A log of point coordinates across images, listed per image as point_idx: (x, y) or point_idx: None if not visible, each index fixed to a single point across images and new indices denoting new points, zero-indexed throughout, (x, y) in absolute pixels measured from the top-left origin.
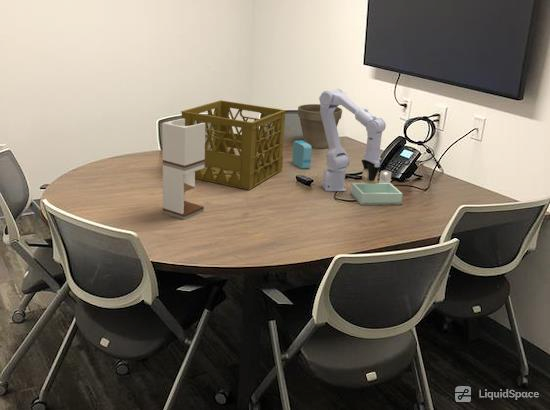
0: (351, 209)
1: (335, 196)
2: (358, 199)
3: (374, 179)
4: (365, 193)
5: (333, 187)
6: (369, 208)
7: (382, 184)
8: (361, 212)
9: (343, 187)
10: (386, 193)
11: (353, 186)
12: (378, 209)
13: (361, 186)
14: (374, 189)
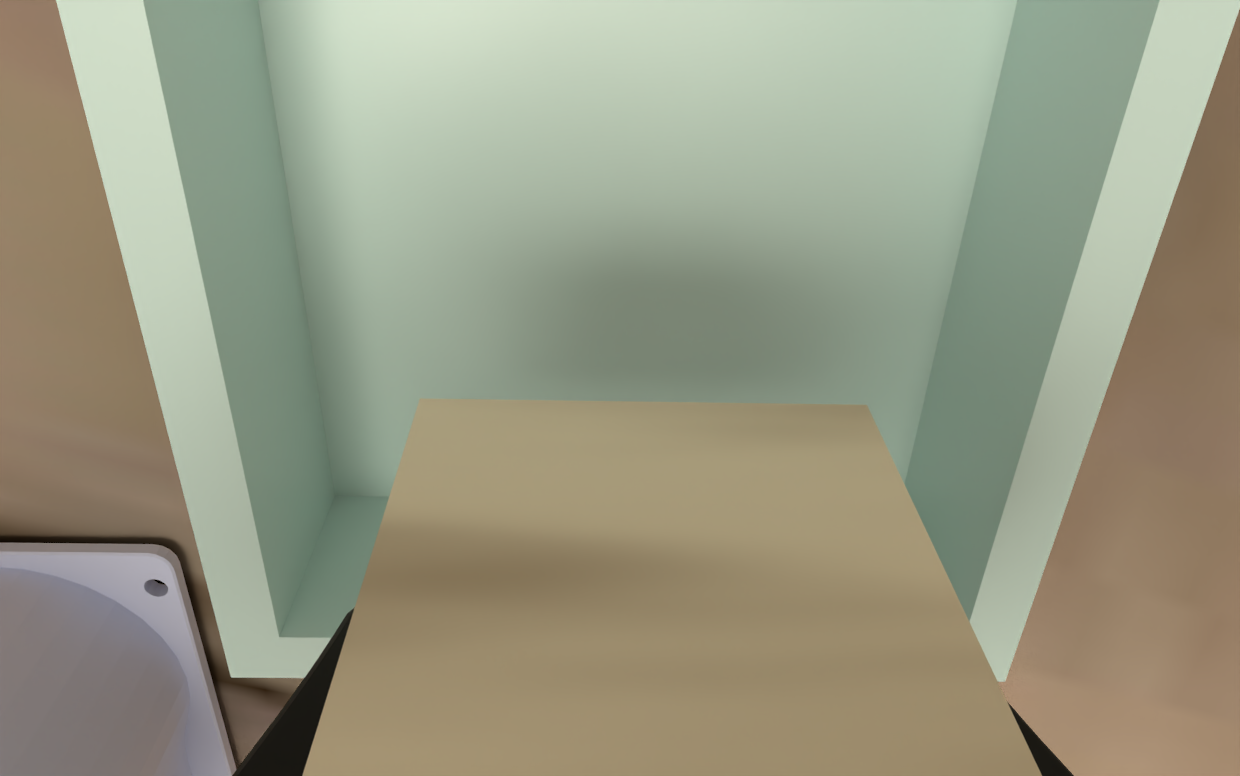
0: (1061, 683)
1: None
2: None
3: None
4: (999, 617)
5: (170, 770)
6: (1122, 424)
7: None
8: (1233, 595)
9: (63, 599)
10: (1188, 68)
11: None
12: (1237, 278)
13: (271, 443)
14: (233, 34)
